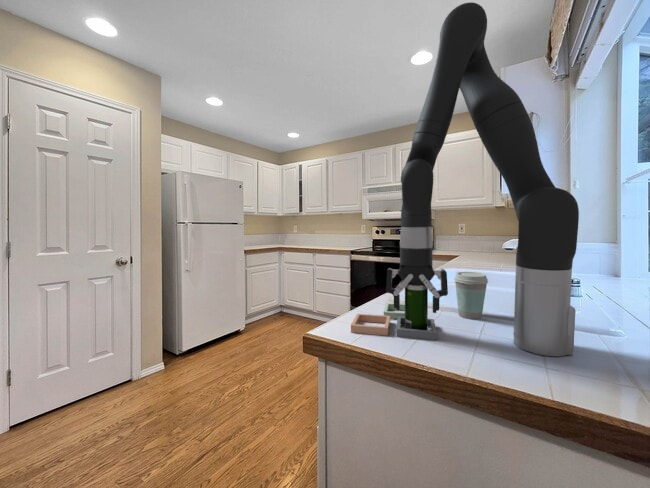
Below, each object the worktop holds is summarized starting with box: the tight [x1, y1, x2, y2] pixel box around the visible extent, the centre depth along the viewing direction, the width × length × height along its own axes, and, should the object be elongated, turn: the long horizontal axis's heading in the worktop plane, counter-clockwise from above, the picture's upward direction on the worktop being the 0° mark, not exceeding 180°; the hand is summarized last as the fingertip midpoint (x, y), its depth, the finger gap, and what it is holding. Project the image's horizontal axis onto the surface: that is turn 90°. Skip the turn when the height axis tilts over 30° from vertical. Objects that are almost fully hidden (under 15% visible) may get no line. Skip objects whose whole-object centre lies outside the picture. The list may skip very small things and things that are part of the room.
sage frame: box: [383, 302, 405, 320], centre depth 82 cm, size 9×9×2 cm
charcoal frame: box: [395, 317, 438, 341], centre depth 70 cm, size 9×9×2 cm
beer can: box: [404, 284, 429, 331], centre depth 69 cm, size 5×5×12 cm
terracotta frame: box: [350, 313, 391, 336], centre depth 73 cm, size 9×9×2 cm
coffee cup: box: [453, 271, 489, 320], centre depth 79 cm, size 8×9×12 cm
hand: (415, 310), depth 69 cm, fingers open, 8 cm apart
